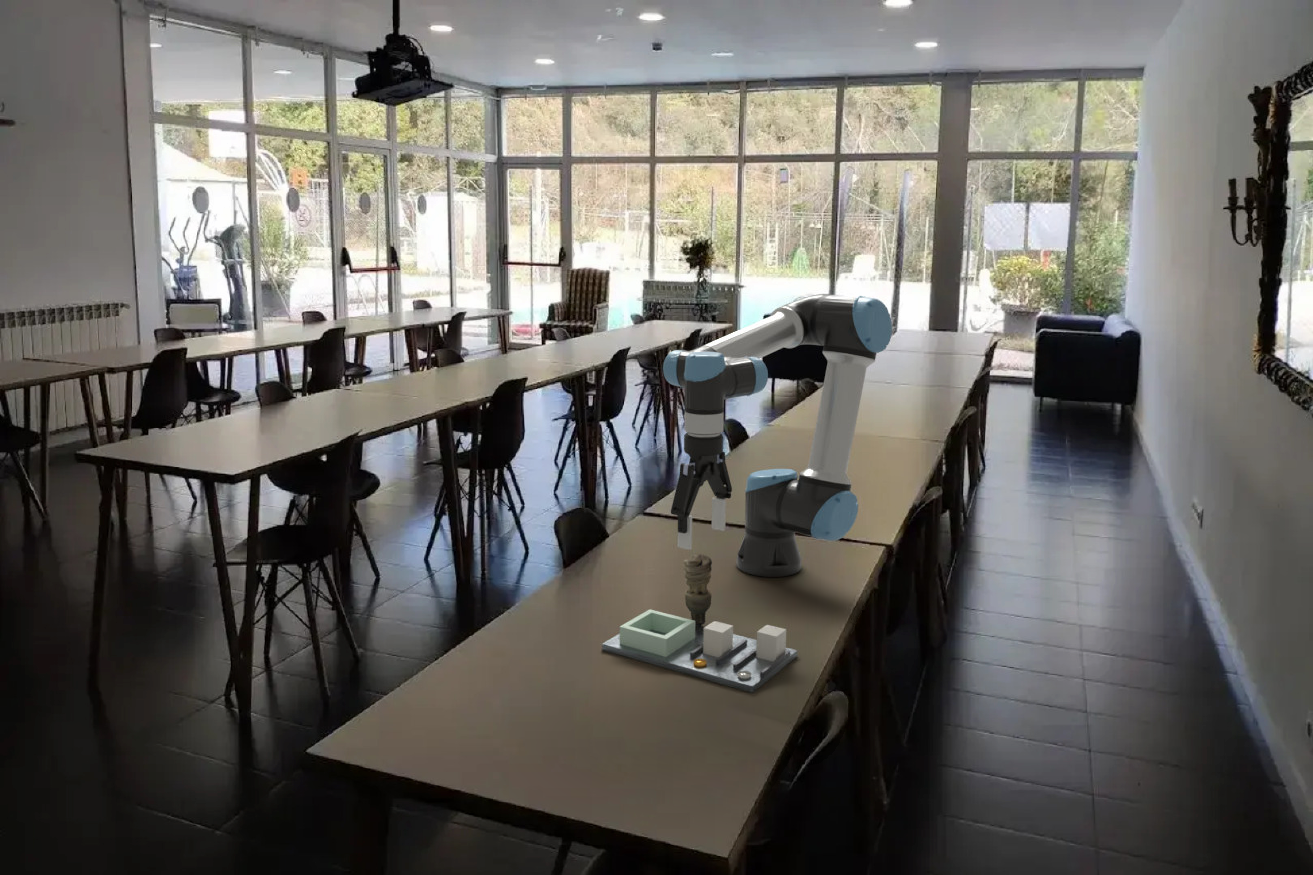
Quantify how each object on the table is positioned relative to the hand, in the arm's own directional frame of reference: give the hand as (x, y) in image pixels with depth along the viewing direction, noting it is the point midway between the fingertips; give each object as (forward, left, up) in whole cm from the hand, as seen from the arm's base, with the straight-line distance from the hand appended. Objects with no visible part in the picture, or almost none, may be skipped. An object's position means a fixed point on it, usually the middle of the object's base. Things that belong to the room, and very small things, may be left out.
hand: (701, 538), depth 200 cm
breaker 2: (+7, +19, -17) cm, 27 cm away
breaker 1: (+11, +10, -17) cm, 23 cm away
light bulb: (0, -1, -19) cm, 19 cm away
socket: (+13, -2, -17) cm, 22 cm away
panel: (+11, +6, -19) cm, 22 cm away
